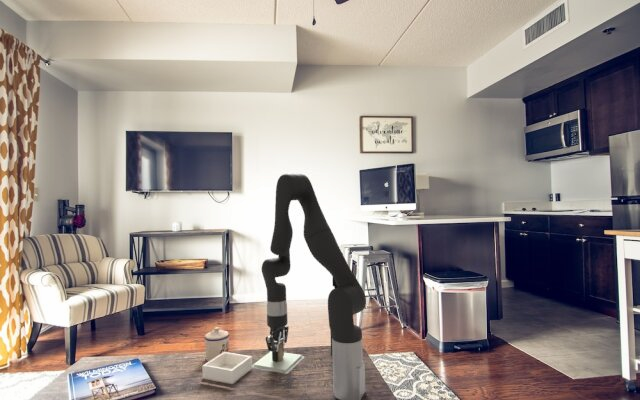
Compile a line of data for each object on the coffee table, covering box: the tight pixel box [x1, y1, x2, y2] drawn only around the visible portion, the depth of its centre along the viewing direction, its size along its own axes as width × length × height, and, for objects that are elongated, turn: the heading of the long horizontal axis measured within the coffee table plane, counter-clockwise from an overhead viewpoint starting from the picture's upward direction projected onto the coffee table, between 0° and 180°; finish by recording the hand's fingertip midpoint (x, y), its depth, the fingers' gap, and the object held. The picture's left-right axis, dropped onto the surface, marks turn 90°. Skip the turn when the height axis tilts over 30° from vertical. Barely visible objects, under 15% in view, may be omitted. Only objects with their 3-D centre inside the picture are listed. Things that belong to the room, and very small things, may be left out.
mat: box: [252, 355, 306, 375], centre depth 138 cm, size 15×15×1 cm
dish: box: [201, 351, 254, 385], centre depth 129 cm, size 12×12×5 cm
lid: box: [253, 344, 303, 372], centre depth 138 cm, size 13×13×6 cm
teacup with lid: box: [204, 326, 230, 362], centre depth 145 cm, size 12×9×12 cm
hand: (278, 358), depth 138 cm, fingers closed on lid, 3 cm apart
